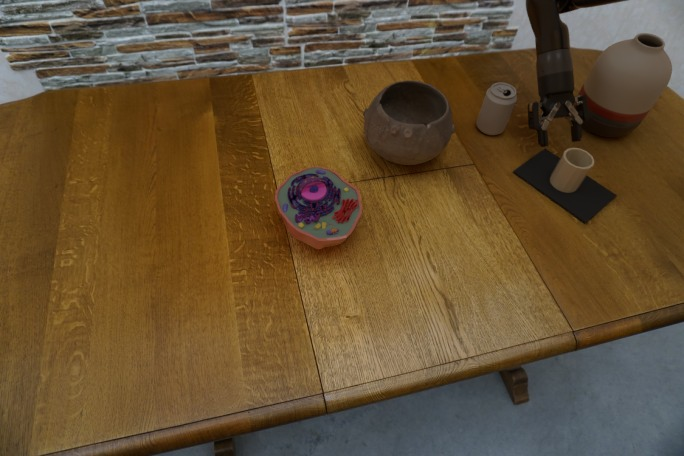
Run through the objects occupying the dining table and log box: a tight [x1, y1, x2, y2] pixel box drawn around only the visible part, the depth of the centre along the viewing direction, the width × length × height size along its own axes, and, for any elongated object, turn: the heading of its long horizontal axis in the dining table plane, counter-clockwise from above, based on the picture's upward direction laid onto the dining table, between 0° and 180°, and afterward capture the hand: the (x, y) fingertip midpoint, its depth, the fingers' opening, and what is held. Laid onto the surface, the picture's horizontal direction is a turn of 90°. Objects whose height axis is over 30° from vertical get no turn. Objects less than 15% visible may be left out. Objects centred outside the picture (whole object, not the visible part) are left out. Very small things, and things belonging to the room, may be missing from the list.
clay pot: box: [362, 79, 456, 166], centre depth 109 cm, size 21×21×15 cm
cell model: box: [274, 166, 363, 250], centre depth 95 cm, size 17×20×11 cm
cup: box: [550, 147, 595, 193], centre depth 106 cm, size 7×7×8 cm
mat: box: [512, 147, 618, 225], centre depth 109 cm, size 20×13×1 cm, turn 40°
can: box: [475, 81, 518, 136], centre depth 116 cm, size 8×8×12 cm
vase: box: [573, 32, 673, 138], centre depth 114 cm, size 17×17×24 cm
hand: (560, 144), depth 108 cm, fingers open, 8 cm apart
